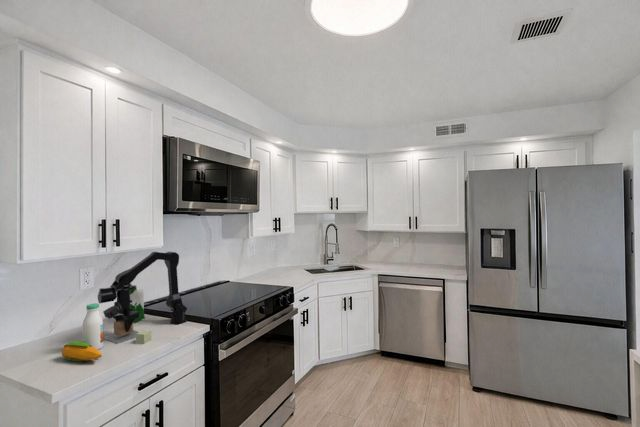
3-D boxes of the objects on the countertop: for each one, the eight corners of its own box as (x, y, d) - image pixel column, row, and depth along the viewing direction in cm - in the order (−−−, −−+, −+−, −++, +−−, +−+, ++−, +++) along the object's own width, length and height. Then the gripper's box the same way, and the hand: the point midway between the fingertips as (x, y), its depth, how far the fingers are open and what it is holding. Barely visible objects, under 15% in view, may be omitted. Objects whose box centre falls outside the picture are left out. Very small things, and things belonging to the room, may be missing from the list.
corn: (73, 336, 140) (109, 340, 134) (75, 353, 140) (110, 358, 134) (55, 343, 132) (91, 349, 127) (56, 361, 133) (93, 368, 127)
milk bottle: (96, 352, 141) (96, 306, 141) (78, 352, 140) (77, 307, 140) (107, 345, 149) (106, 301, 149) (89, 345, 148) (89, 302, 148)
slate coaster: (129, 330, 168) (129, 329, 168) (144, 334, 161) (144, 333, 161) (102, 338, 157) (102, 337, 157) (117, 343, 150) (117, 342, 150)
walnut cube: (126, 329, 163) (126, 318, 163) (133, 332, 160) (133, 320, 160) (113, 333, 158) (113, 321, 158) (120, 336, 155) (120, 323, 155)
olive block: (142, 339, 155) (142, 330, 155) (150, 340, 154) (150, 331, 154) (135, 343, 150) (135, 334, 150) (144, 344, 150) (144, 334, 150)
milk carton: (122, 322, 180) (122, 287, 180) (133, 317, 189) (133, 283, 189) (137, 323, 179) (136, 287, 179) (147, 317, 188) (147, 283, 188)
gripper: (95, 300, 157) (96, 332, 157) (116, 305, 147) (116, 339, 147) (119, 295, 166) (120, 325, 166) (140, 299, 157) (140, 331, 157)
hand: (123, 330), depth 159 cm, fingers open, 6 cm apart
